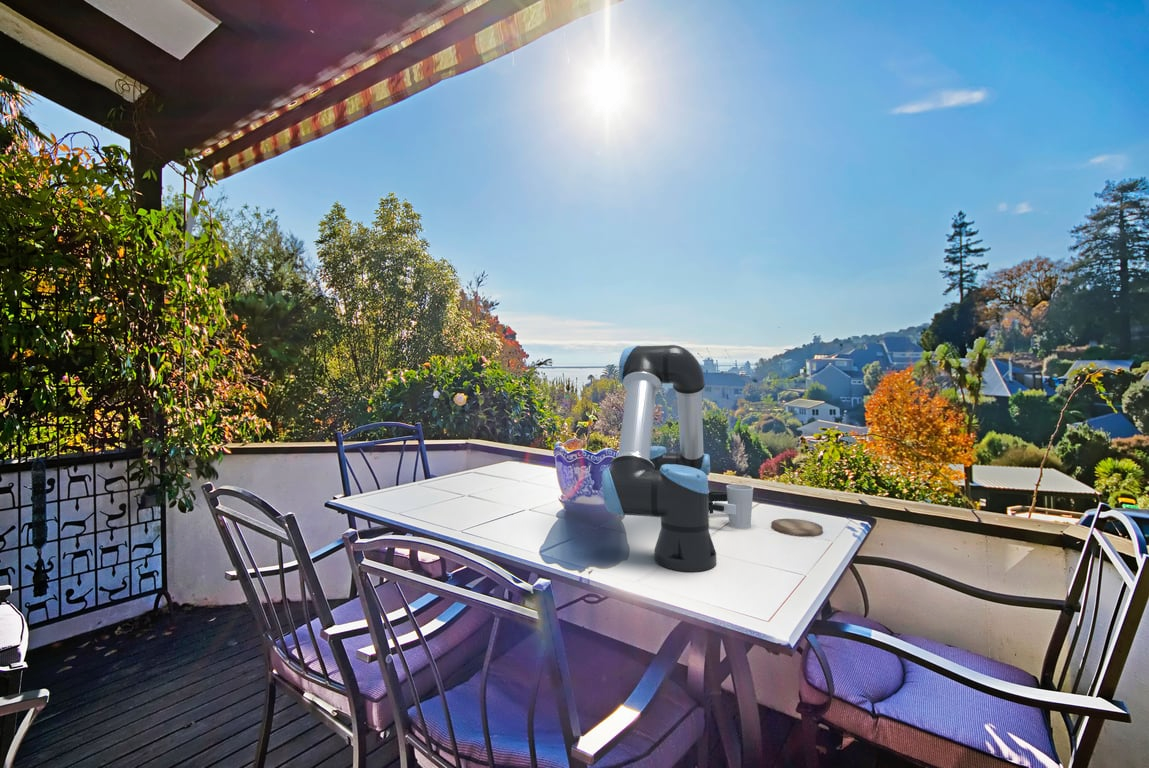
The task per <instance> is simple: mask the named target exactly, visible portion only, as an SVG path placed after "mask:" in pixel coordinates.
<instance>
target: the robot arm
mask: <svg viewBox="0 0 1149 768" xmlns="http://www.w3.org/2000/svg"><path fill="white" fill-rule="evenodd" d="M618 366H619V367H618V379H619V381H620V383H621V384H622V386H623V388H624V389H625V390H626V393H625V401H624V402H625V403H624V409H623V417H622V424H621V431H620V438H619V439H620V440H619V446H618V455H617V456H616V457H615V456H614V457H613V458H612V459H611V464H610V467H605V468H603V469H602V472H601V473H602V474H601V490H602V491H601V492H602V498H603V504H604V507H605V508H606V510H607V511H608V512H609V513H610V514H615V515H621V516H634V517H635V516H637V517H638V516H639V517H640V516H641V517H650V518H651V517H652V518H654V517H655V518H660V531H659V534H658V538H657V541H656V542H655V547H654V554H653V555H654V556H653V557H654V561H655V563H657V565H659V566H662V567H664V568H667V569H668V570H669V569H671V570H675V571H678V572H679V571H681V572H702V571H707V570H710V569H712V568H715V566H716V565H717V552H716V549H715V545H714V542H713V539H712V537H711V533H710V525H709V524H710V523H709V522H710V520H709V517H710V516H709V514H711V515H712V514H714V512H717V513H723V514H727V515H729V514H734V515H735V514H736V505H733V504H728V503H725V502H728V500H727V491H716V490H715V491H713V490H709V480H708V479H709V478H708V476H709V475H710V472H711V459H710V457H711V456H710V454H708V453H704V428H703V424H704V423H703V422H704V421H703V398H702V397H703V396H702V392H703V391H704V389H705V387H706V386H705V385H706V383H705V379H706V377H705V374H704V371H703V368H702V367H701V364H700V362H699V361H698V359H697V358H696V357H695V355H693V353H692V352H690V351H689V350H688V349H686V348H684V347H682V346H681V345H675V344H669V345H668V344H667V345H636V346H628V347H626V348H624V349H623V351H622V352H621V354H620V358H619V362H618ZM662 384H672V388H673V390H674V392H676V400H677V417H678V418H677V419H678V429H679V432H678V433H679V446H680V447H679V448H680V452H668V451H667V447H665V446H661V445H660V446H659V445H652V437H653V428H654V415H655V407H656V406H655V403H656V396H657V395H656V394H657V393H659V392H660V391H661V389H662V387H663V386H662Z"/></svg>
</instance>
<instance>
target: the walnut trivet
mask: <svg viewBox="0 0 1149 768" xmlns="http://www.w3.org/2000/svg"><path fill="white" fill-rule="evenodd" d="M771 529H772V530H773V529H774V530H773V531H775V532H777V531H778V533H780V534H783V533H784V535H787V534H788V536H793V535H794V536H795V537H803V536H811V537H817V535H818V536H821V535H822V534H824V533H823V532H824V531H823V526H822V525H820V524H819V523H817V522H813V521H809V520H806V519H799V518H777V519H773V521H771ZM820 534H821V535H820ZM794 536H793V537H794Z"/></svg>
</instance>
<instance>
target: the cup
mask: <svg viewBox="0 0 1149 768" xmlns="http://www.w3.org/2000/svg"><path fill="white" fill-rule="evenodd" d="M725 489H726V492H727V500H728V501H727V504H733V505H736V514H735V515H734V514H728V521H729V522H728V524H729V527H731V526H732V527H731V528H734V527H735V529H740V528H746V529H751V528H752V512H753V511H752V510H753V499H754V498H753V496H754V486H752V485H750V484H749V485H748V484H741V483H739V484H737V483H733V484H727V485H726V487H725Z"/></svg>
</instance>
